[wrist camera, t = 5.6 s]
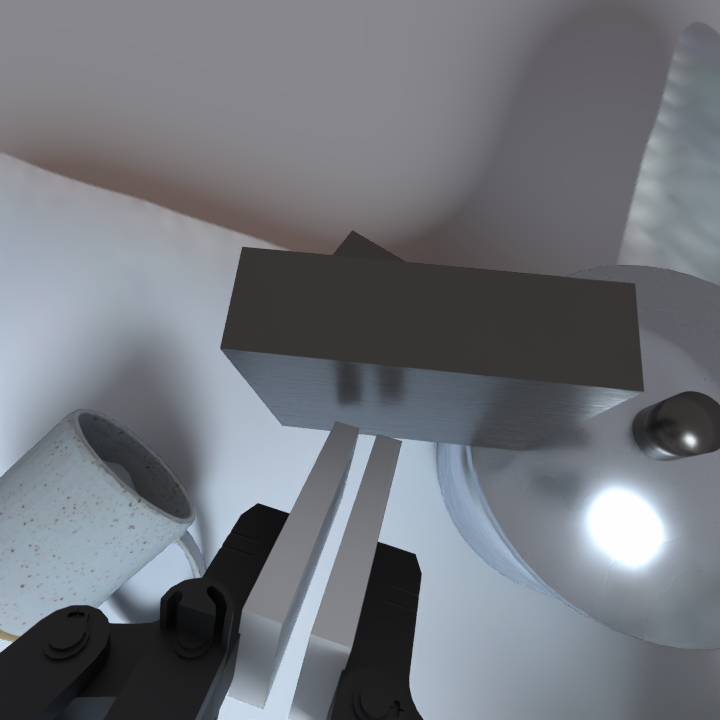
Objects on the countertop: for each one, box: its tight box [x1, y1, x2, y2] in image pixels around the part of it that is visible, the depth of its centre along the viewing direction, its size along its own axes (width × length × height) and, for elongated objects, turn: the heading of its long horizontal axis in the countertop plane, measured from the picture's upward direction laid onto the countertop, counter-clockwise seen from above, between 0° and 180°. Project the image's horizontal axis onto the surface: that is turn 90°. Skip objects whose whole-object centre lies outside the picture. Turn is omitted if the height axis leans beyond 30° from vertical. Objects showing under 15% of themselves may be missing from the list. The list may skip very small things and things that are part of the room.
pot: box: [333, 231, 555, 597], centre depth 23 cm, size 25×13×9 cm, turn 58°
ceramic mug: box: [0, 409, 205, 642], centre depth 22 cm, size 11×8×8 cm
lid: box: [220, 247, 720, 650], centre depth 14 cm, size 20×14×9 cm
